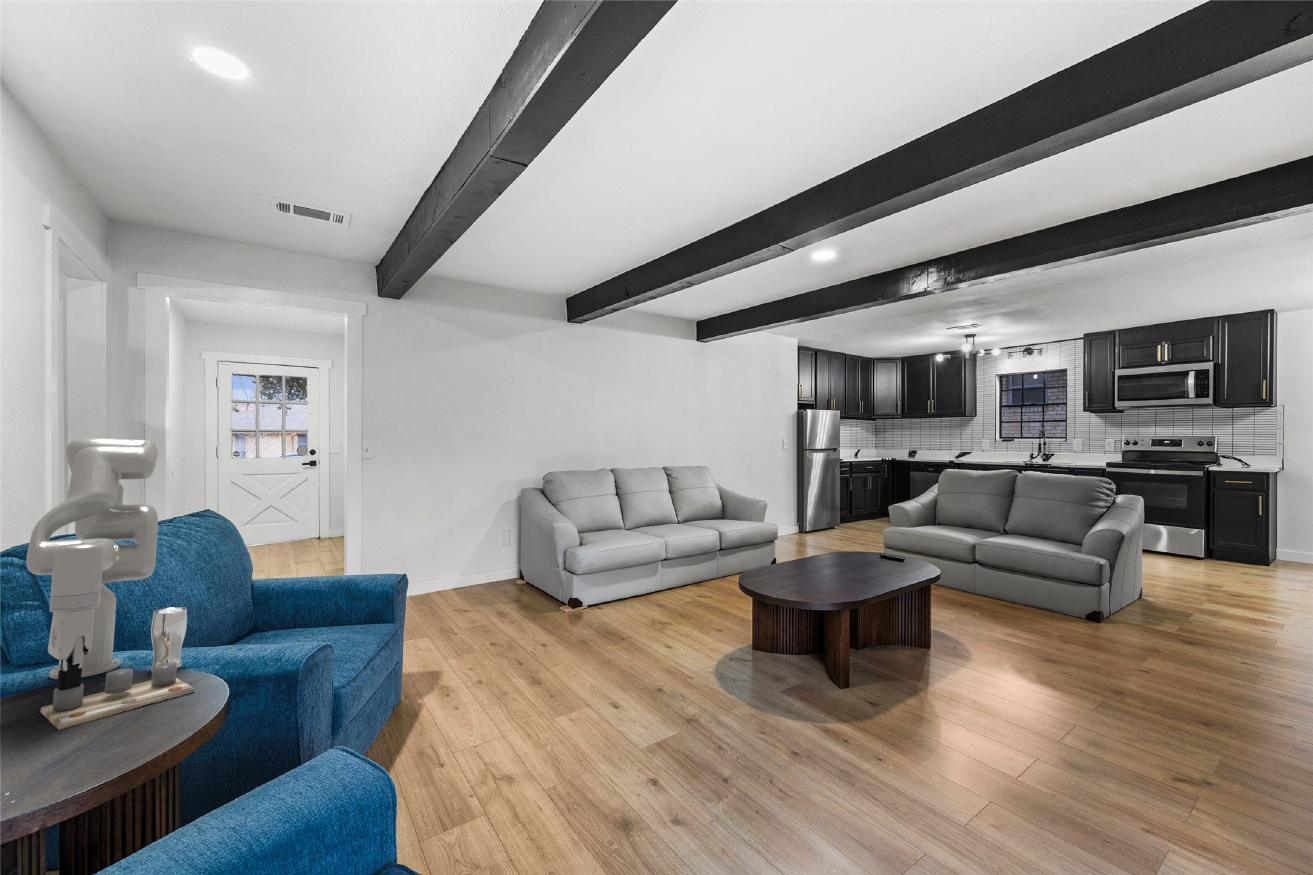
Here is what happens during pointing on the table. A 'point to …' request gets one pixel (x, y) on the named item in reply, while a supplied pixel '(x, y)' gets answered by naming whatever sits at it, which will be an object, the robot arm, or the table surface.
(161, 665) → the button
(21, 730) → the table surface
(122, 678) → the button middle
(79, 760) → the table surface
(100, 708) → the button board
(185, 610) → the beer glass
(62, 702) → the button
